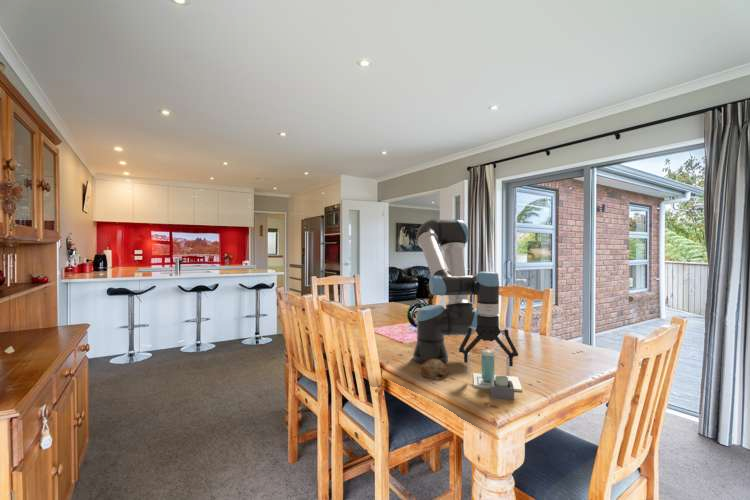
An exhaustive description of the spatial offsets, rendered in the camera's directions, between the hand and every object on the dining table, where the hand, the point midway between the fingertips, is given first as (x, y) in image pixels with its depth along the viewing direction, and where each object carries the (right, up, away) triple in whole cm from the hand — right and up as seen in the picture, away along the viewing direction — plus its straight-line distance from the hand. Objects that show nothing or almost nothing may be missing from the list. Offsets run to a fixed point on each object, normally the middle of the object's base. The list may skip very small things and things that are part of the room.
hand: (487, 373), depth 127 cm
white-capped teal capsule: (0, -3, 0) cm, 3 cm away
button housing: (+2, -4, -9) cm, 10 cm away
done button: (+2, -2, -9) cm, 10 cm away
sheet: (+3, -4, +1) cm, 5 cm away
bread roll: (-18, -4, +9) cm, 21 cm away
